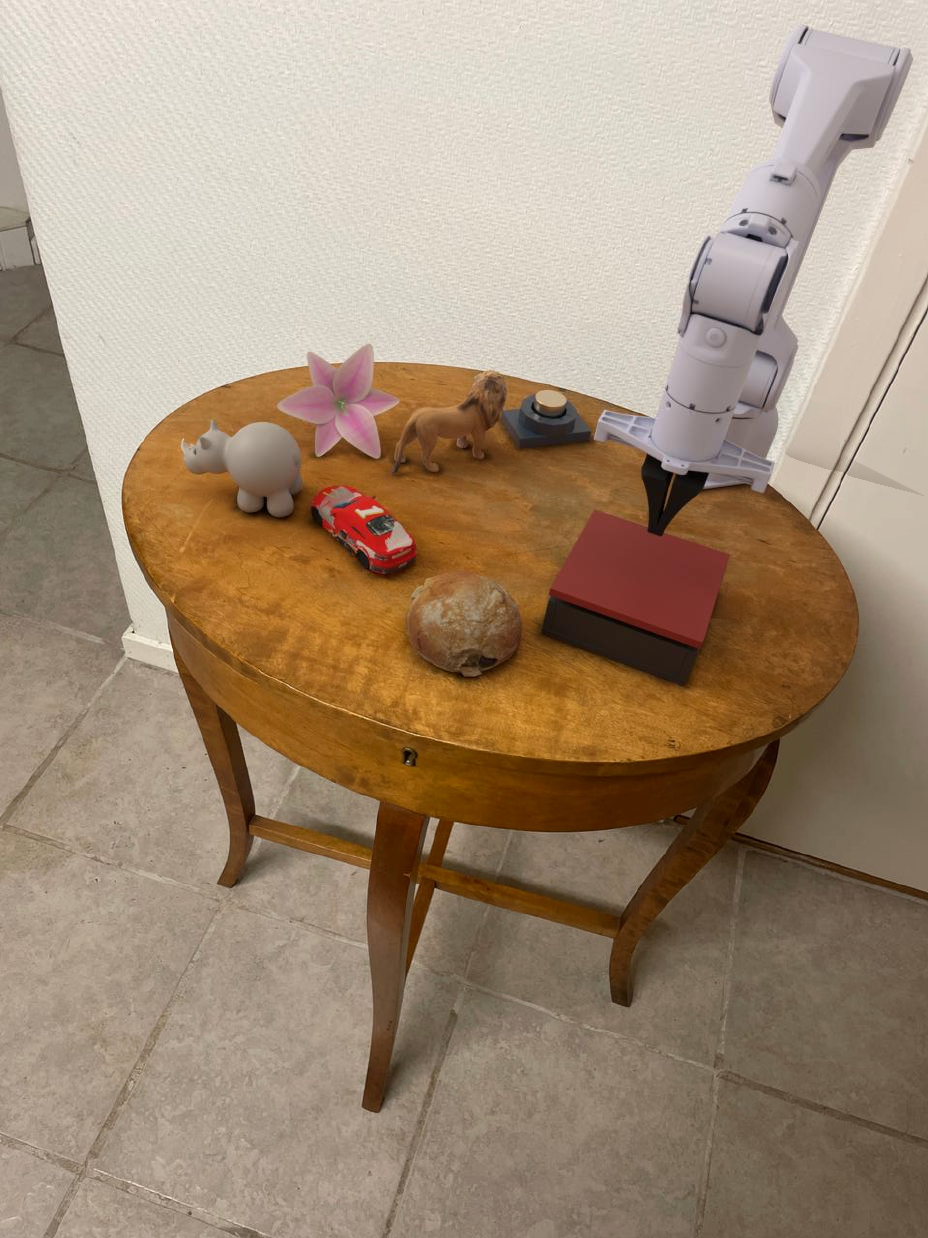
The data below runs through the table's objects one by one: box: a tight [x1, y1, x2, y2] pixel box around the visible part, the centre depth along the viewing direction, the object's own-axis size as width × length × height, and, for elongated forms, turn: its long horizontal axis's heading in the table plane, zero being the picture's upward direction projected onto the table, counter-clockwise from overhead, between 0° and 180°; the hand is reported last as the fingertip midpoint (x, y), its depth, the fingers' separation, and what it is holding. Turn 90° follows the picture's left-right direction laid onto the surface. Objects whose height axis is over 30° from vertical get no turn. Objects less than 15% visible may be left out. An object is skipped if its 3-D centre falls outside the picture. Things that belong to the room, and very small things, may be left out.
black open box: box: [540, 595, 700, 687], centre depth 85 cm, size 14×14×4 cm
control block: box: [500, 393, 592, 449], centre depth 107 cm, size 9×6×3 cm
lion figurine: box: [390, 369, 508, 474], centre depth 99 cm, size 15×5×9 cm, turn 129°
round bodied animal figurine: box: [180, 419, 303, 518], centre depth 90 cm, size 7×12×8 cm, turn 80°
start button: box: [533, 389, 568, 419], centre depth 105 cm, size 4×4×2 cm
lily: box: [276, 343, 401, 460], centre depth 100 cm, size 12×12×10 cm
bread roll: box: [406, 570, 523, 678], centre depth 81 cm, size 10×10×8 cm
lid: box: [548, 509, 731, 650], centre depth 83 cm, size 14×14×1 cm
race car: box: [310, 485, 418, 575], centre depth 89 cm, size 13×5×4 cm, turn 39°
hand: (656, 528), depth 81 cm, fingers closed
